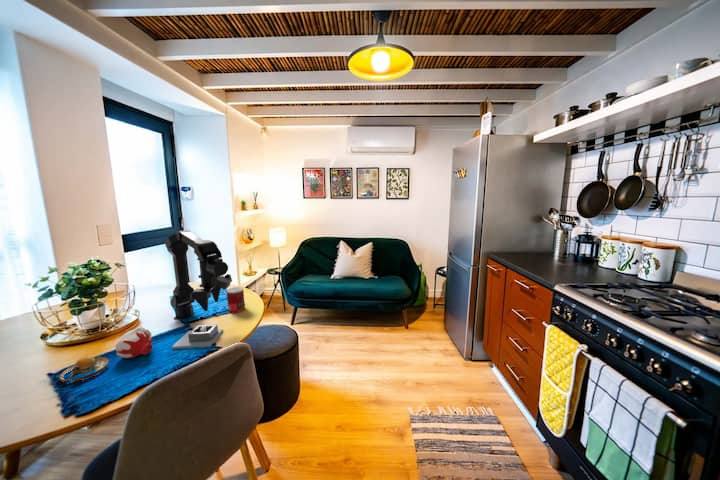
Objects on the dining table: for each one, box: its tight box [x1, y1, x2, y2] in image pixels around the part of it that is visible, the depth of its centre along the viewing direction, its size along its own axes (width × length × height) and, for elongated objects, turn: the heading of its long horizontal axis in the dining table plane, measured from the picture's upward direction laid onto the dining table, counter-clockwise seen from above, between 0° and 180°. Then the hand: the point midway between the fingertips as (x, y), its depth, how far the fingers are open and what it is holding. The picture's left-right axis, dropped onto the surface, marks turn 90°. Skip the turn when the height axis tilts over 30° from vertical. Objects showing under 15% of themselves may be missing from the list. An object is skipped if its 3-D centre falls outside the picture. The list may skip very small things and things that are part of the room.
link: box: [188, 324, 219, 342], centre depth 106 cm, size 8×7×4 cm
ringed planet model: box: [57, 355, 110, 383], centre depth 86 cm, size 12×12×8 cm
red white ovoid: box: [115, 325, 153, 360], centre depth 96 cm, size 9×11×15 cm
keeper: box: [171, 327, 224, 350], centre depth 106 cm, size 14×12×5 cm
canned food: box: [226, 286, 246, 314], centre depth 133 cm, size 8×8×11 cm
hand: (211, 306), depth 111 cm, fingers open, 9 cm apart
